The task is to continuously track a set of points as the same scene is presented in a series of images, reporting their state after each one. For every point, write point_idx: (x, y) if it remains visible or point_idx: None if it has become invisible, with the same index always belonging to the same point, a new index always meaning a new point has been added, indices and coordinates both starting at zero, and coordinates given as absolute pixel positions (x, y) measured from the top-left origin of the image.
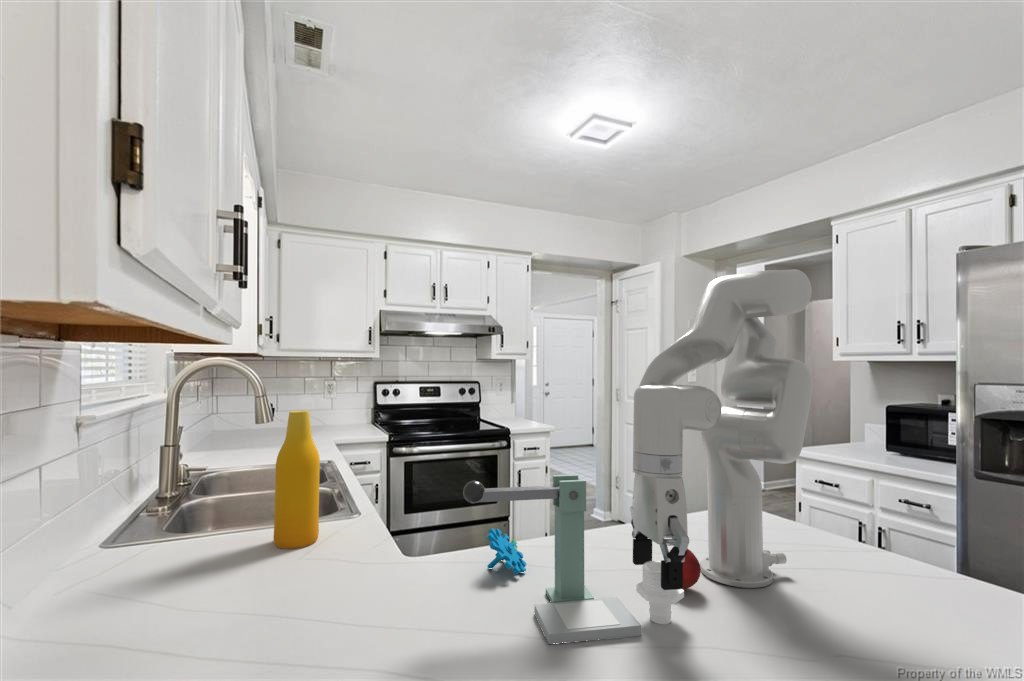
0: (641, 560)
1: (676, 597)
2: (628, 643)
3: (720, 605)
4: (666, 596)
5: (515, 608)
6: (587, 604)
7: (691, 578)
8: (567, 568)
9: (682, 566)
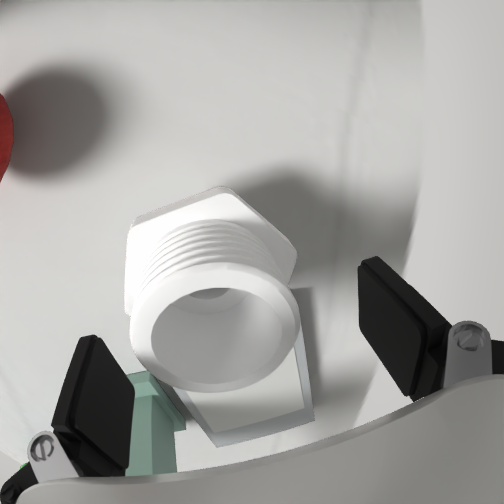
0: (120, 382)
1: (279, 233)
2: (316, 313)
3: (91, 27)
4: (282, 271)
5: (198, 449)
6: (204, 396)
7: (7, 115)
8: (170, 470)
9: (430, 306)
